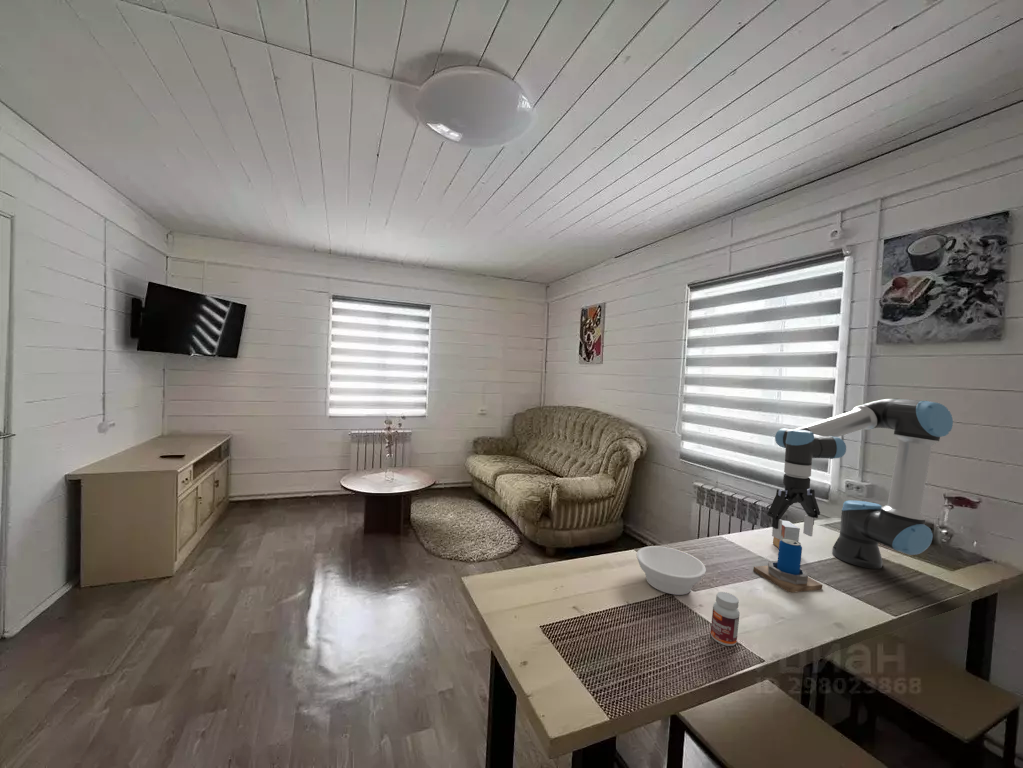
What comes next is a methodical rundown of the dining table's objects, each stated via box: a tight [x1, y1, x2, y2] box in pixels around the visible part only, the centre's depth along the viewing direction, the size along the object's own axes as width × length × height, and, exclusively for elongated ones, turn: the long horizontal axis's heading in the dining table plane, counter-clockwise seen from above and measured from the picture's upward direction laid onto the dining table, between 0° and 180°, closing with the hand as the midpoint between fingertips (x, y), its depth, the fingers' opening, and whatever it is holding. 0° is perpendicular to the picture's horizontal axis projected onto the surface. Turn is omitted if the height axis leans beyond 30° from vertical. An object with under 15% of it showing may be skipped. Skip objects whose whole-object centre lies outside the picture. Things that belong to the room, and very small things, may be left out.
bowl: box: [636, 545, 707, 596], centre depth 132 cm, size 21×21×8 cm
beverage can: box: [777, 538, 803, 575], centre depth 140 cm, size 6×6×12 cm
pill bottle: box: [710, 591, 740, 647], centre depth 106 cm, size 6×6×11 cm
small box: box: [772, 519, 801, 549], centre depth 167 cm, size 8×6×10 cm
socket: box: [753, 560, 823, 593], centre depth 141 cm, size 14×14×4 cm
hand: (792, 536), depth 140 cm, fingers open, 13 cm apart
